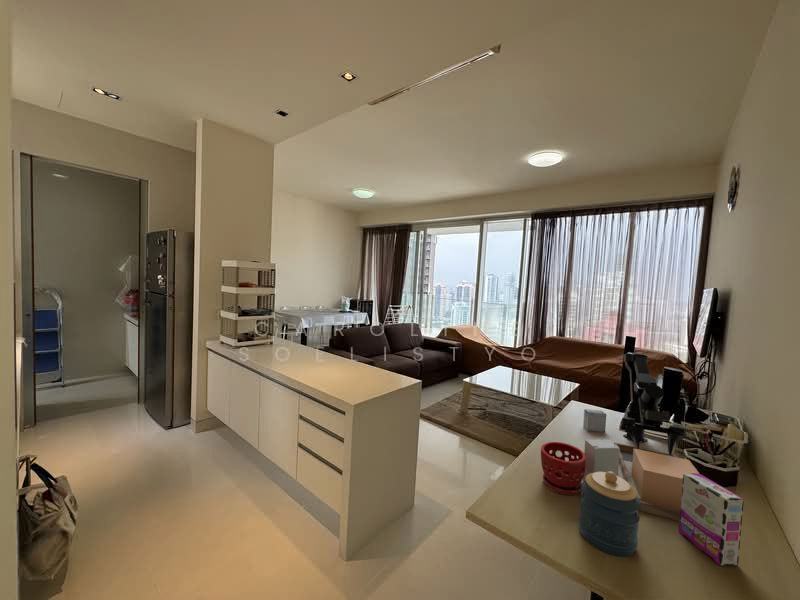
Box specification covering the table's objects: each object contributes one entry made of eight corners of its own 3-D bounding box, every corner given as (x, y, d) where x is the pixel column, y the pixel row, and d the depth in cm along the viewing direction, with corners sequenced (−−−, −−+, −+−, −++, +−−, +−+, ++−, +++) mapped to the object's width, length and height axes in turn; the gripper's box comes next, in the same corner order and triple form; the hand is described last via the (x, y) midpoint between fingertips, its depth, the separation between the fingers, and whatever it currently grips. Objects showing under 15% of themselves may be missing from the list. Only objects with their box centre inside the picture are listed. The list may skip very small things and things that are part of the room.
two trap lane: (613, 448, 135) (614, 442, 135) (675, 461, 126) (675, 454, 126) (634, 510, 98) (635, 501, 97) (724, 534, 89) (725, 524, 89)
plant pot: (543, 470, 117) (545, 437, 116) (586, 484, 109) (588, 449, 109) (534, 488, 106) (536, 452, 106) (581, 505, 99) (583, 466, 98)
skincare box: (605, 481, 111) (608, 438, 110) (618, 493, 105) (621, 447, 104) (581, 481, 111) (584, 438, 110) (592, 493, 105) (595, 447, 104)
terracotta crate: (631, 476, 115) (633, 448, 114) (686, 489, 108) (688, 459, 108) (641, 501, 101) (643, 469, 101) (704, 518, 95) (707, 484, 94)
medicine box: (600, 428, 154) (601, 410, 154) (605, 432, 150) (606, 413, 150) (582, 426, 155) (584, 408, 155) (587, 431, 151) (588, 412, 150)
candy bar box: (739, 566, 78) (746, 499, 78) (720, 567, 78) (726, 499, 77) (694, 530, 90) (699, 472, 89) (677, 531, 89) (682, 472, 88)
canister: (650, 552, 82) (655, 483, 81) (609, 563, 78) (614, 491, 77) (604, 516, 94) (608, 456, 93) (567, 524, 90) (571, 461, 89)
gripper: (623, 396, 125) (627, 436, 116) (686, 405, 117) (695, 449, 108) (618, 409, 133) (621, 448, 124) (677, 419, 125) (685, 461, 116)
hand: (654, 451), depth 118 cm, fingers open, 9 cm apart
